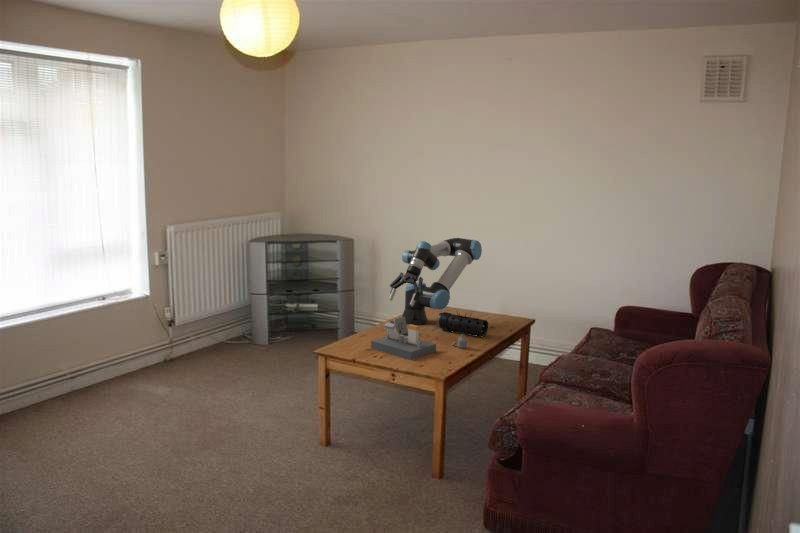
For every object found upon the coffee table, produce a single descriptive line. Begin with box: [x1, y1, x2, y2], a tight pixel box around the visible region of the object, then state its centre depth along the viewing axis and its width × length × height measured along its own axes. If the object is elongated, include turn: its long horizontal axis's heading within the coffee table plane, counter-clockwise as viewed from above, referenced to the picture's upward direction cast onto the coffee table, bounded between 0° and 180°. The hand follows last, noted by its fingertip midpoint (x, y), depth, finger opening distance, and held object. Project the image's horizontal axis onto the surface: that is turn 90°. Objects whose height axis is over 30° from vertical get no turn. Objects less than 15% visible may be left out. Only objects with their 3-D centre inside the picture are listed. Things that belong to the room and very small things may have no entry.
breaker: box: [383, 322, 399, 340], centre depth 337 cm, size 2×6×10 cm
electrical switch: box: [390, 316, 408, 335], centre depth 365 cm, size 9×5×9 cm, turn 141°
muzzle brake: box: [436, 311, 489, 338], centre depth 371 cm, size 10×28×10 cm, turn 58°
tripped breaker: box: [407, 324, 420, 345], centre depth 331 cm, size 2×6×10 cm, turn 50°
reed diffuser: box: [451, 311, 472, 349], centre depth 342 cm, size 10×7×20 cm
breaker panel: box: [370, 331, 437, 361], centre depth 336 cm, size 20×26×7 cm
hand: (400, 302), depth 358 cm, fingers open, 13 cm apart
